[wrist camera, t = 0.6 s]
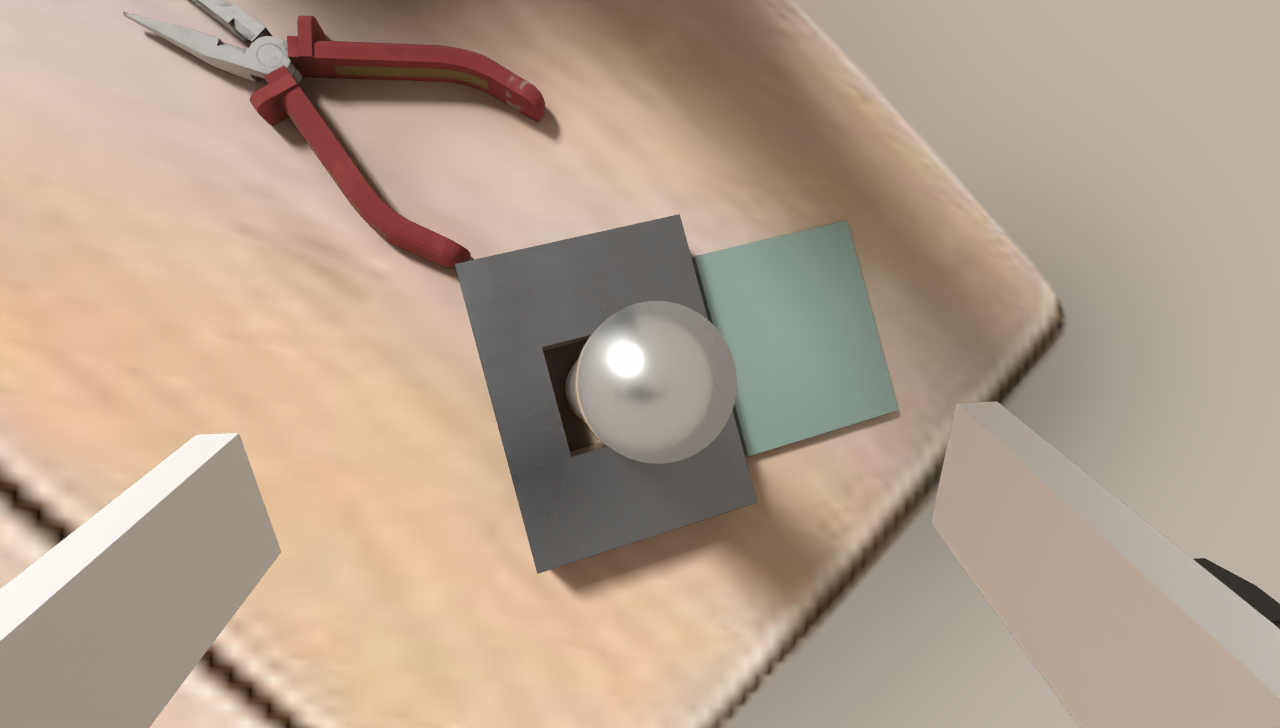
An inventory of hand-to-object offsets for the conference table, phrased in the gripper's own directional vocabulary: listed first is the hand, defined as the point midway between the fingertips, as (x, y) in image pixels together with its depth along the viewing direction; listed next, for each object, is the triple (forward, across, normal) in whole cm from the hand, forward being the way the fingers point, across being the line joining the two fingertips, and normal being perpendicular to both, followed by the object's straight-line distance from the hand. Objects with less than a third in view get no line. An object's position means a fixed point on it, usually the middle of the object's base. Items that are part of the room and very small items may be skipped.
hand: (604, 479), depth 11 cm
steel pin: (+21, -1, -8) cm, 22 cm away
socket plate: (+21, -1, -8) cm, 22 cm away
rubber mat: (+24, +10, -7) cm, 27 cm away
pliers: (+27, -13, +7) cm, 31 cm away
